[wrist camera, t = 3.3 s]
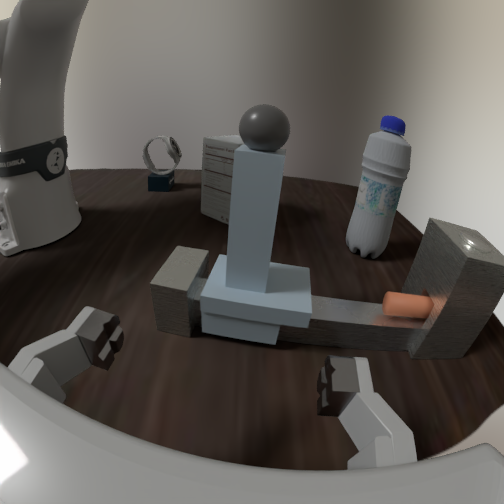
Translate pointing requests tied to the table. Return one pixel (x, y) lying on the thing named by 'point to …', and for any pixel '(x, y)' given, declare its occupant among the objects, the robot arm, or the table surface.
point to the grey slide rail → (369, 314)
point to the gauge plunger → (407, 305)
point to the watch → (162, 178)
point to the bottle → (379, 188)
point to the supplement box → (218, 175)
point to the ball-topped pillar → (256, 243)
